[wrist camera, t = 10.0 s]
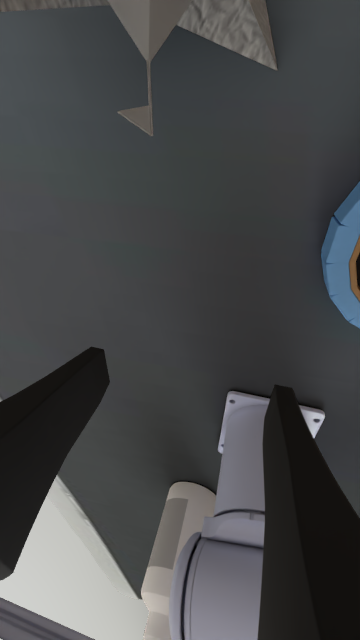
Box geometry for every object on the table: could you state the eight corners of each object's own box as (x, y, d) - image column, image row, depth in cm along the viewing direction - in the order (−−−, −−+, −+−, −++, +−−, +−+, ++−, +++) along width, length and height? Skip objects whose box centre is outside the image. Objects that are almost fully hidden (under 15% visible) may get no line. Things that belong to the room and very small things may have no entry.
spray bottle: (167, 475, 36) (100, 698, 22) (218, 487, 34) (181, 739, 20) (173, 500, 40) (119, 705, 26) (220, 511, 38) (190, 740, 24)
